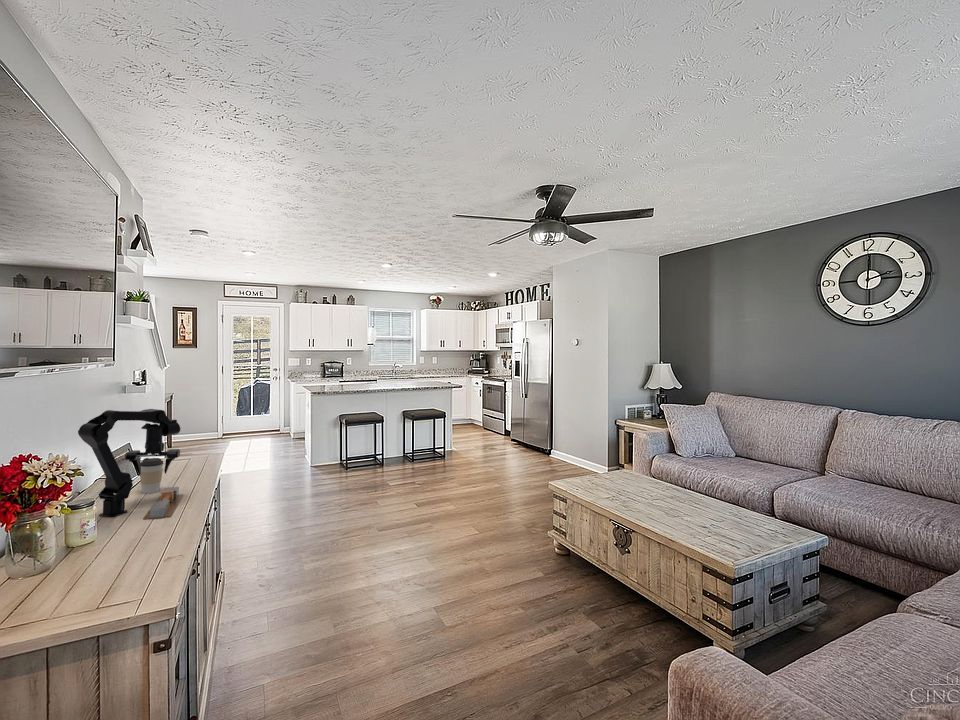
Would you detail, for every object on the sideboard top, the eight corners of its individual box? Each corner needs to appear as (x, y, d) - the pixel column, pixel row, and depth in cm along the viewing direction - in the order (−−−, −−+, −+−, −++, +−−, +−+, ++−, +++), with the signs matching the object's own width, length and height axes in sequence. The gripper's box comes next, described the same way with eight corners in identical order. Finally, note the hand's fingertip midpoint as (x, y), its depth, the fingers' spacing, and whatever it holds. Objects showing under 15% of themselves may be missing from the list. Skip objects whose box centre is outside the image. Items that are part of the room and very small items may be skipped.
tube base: (170, 517, 180) (171, 506, 180) (143, 519, 177) (143, 508, 177) (183, 495, 206) (184, 486, 206) (160, 496, 202) (160, 487, 202)
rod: (167, 509, 187) (168, 498, 186) (155, 509, 185) (156, 499, 185) (175, 496, 201) (175, 487, 201) (164, 497, 199) (165, 487, 199)
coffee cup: (167, 488, 213) (168, 457, 213) (151, 494, 204) (152, 461, 204) (149, 487, 214) (150, 455, 214) (133, 493, 205) (134, 460, 205)
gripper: (183, 434, 207) (181, 468, 207) (133, 435, 199) (132, 470, 200) (178, 439, 197) (176, 474, 197) (125, 440, 189) (123, 477, 189)
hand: (152, 474), depth 196 cm, fingers open, 9 cm apart
